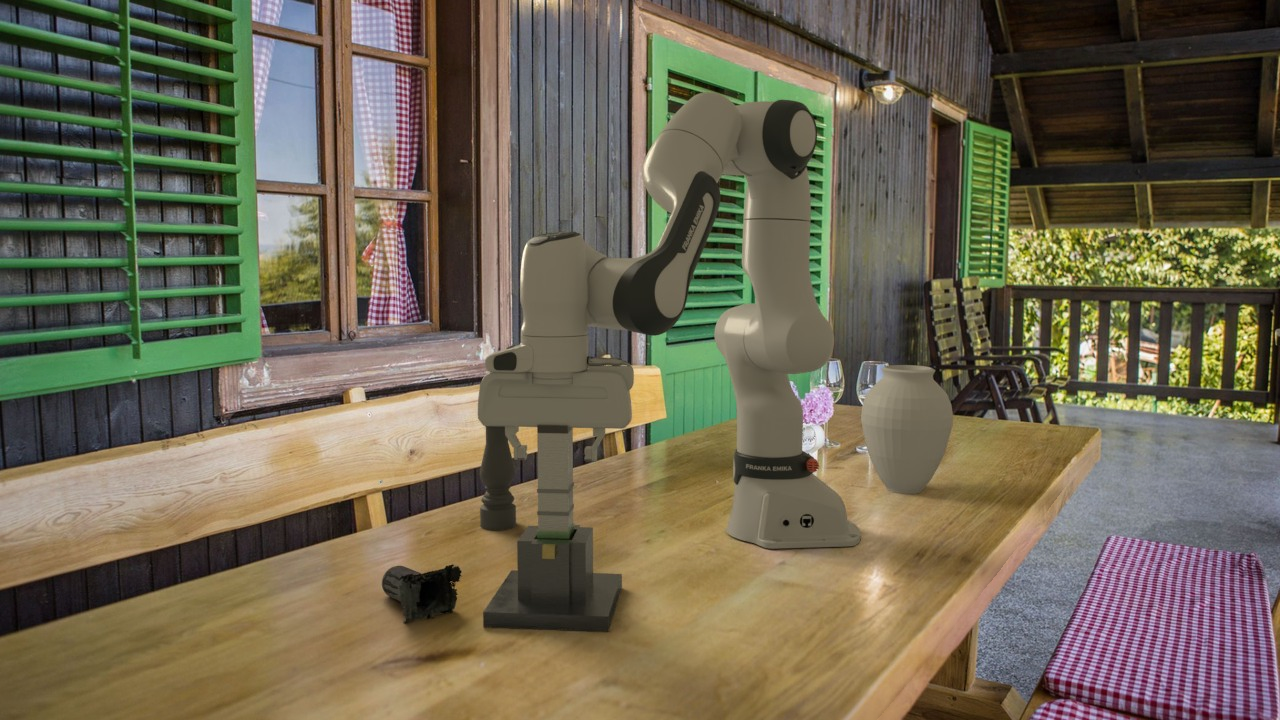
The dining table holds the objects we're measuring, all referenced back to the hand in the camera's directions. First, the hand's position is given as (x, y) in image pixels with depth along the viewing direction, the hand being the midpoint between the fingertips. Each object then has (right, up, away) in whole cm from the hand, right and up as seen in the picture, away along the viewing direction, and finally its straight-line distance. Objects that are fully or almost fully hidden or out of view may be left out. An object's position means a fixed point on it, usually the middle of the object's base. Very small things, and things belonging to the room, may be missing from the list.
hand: (555, 460), depth 124 cm
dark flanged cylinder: (-20, -20, +2) cm, 28 cm away
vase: (+65, -13, +66) cm, 94 cm away
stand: (0, -20, +2) cm, 20 cm away
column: (0, -12, +1) cm, 12 cm away
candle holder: (-14, -16, +40) cm, 45 cm away
